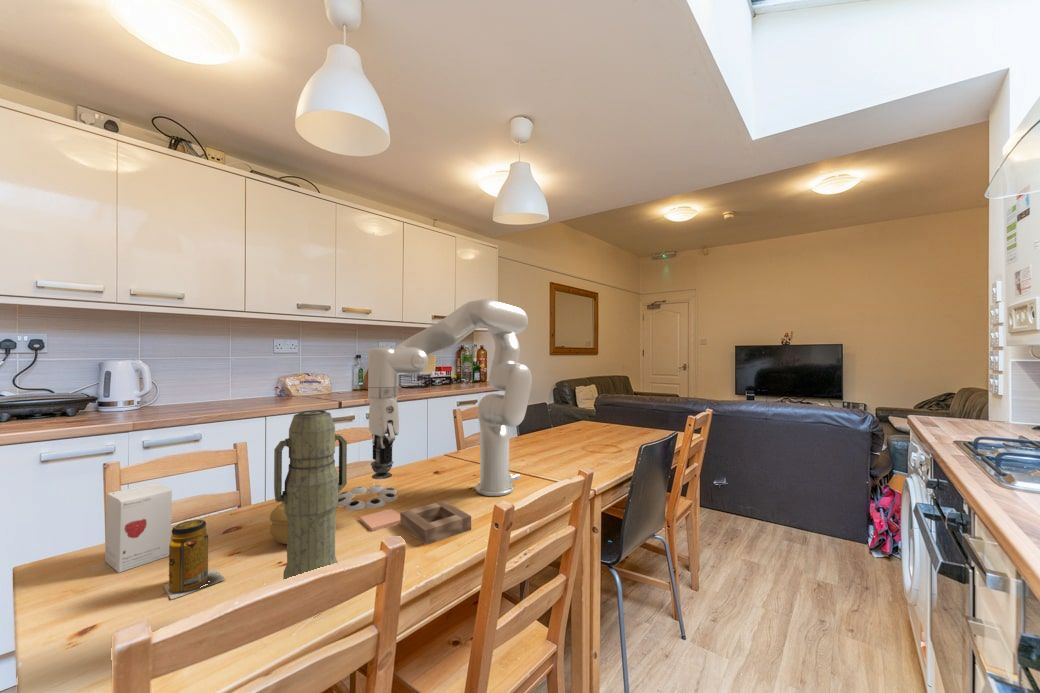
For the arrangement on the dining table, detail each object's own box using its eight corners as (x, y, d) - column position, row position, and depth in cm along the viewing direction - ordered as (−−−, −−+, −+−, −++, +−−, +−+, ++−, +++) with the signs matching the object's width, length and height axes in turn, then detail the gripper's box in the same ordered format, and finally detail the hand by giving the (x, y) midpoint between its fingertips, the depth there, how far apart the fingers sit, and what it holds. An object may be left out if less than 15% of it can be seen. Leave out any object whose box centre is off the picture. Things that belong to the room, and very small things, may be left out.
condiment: (163, 586, 81) (163, 524, 81) (215, 568, 87) (215, 511, 87) (171, 600, 76) (171, 535, 76) (225, 581, 82) (226, 521, 82)
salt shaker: (386, 480, 108) (386, 434, 108) (365, 478, 109) (366, 433, 109) (397, 473, 114) (397, 430, 114) (377, 472, 115) (378, 429, 115)
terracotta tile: (391, 511, 118) (391, 508, 118) (405, 521, 111) (405, 518, 111) (359, 520, 112) (359, 517, 112) (371, 531, 105) (371, 528, 105)
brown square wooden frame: (443, 512, 117) (443, 500, 117) (471, 529, 106) (471, 516, 106) (400, 525, 108) (400, 512, 108) (425, 545, 98) (425, 530, 98)
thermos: (354, 599, 76) (355, 411, 77) (284, 631, 68) (285, 418, 68) (333, 580, 82) (335, 406, 83) (267, 608, 74) (268, 413, 74)
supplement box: (117, 574, 85) (118, 501, 85) (103, 562, 89) (104, 493, 89) (172, 555, 92) (173, 488, 92) (157, 545, 97) (157, 481, 97)
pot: (330, 540, 100) (330, 499, 100) (274, 556, 92) (275, 511, 92) (316, 524, 109) (316, 486, 109) (264, 537, 101) (265, 497, 101)
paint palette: (342, 517, 115) (342, 510, 115) (324, 497, 130) (324, 491, 130) (409, 501, 127) (409, 494, 127) (385, 484, 142) (385, 479, 142)
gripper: (409, 395, 107) (408, 465, 107) (384, 390, 120) (383, 452, 120) (381, 397, 103) (380, 470, 102) (358, 391, 115) (357, 456, 115)
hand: (382, 460), depth 111 cm, fingers closed on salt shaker, 4 cm apart
